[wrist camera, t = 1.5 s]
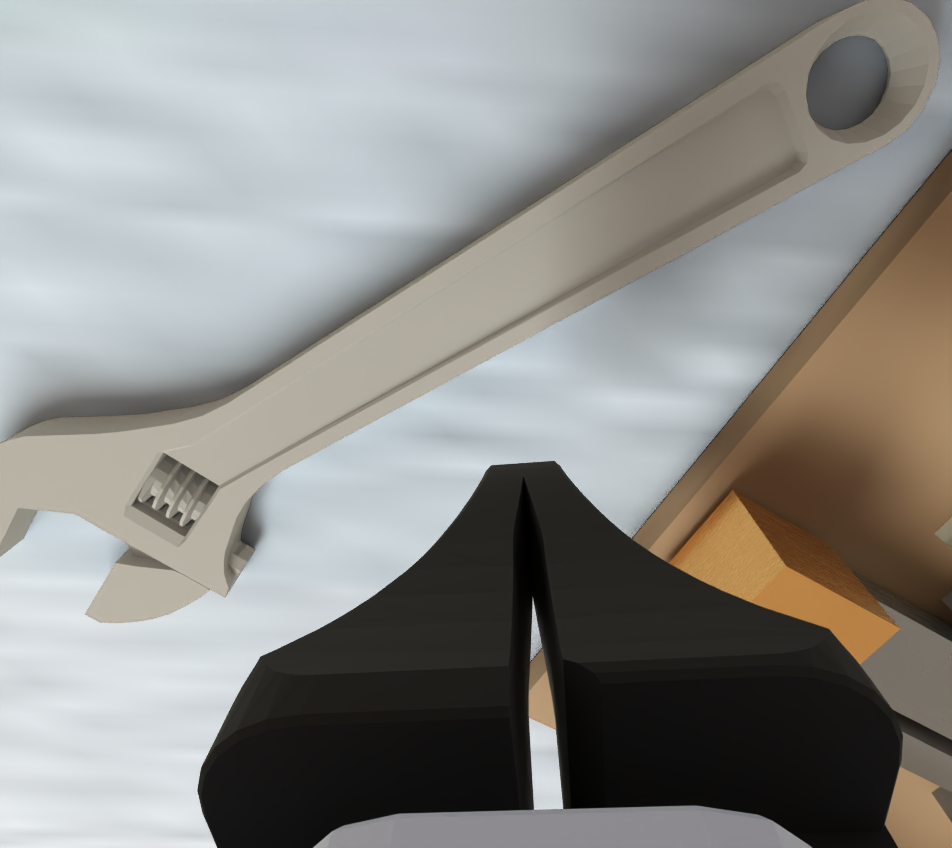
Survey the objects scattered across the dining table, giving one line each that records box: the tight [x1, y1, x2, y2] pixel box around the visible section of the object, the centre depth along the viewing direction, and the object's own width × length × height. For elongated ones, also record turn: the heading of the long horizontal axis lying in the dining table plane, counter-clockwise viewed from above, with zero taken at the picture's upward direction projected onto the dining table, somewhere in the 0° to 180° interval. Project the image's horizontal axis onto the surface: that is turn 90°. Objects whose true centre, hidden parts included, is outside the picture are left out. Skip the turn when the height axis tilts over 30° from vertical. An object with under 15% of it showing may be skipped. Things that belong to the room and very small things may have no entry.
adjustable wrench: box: [0, 0, 940, 623], centre depth 15 cm, size 25×6×2 cm, turn 116°
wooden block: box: [669, 490, 952, 740], centre depth 15 cm, size 3×10×3 cm, turn 61°
